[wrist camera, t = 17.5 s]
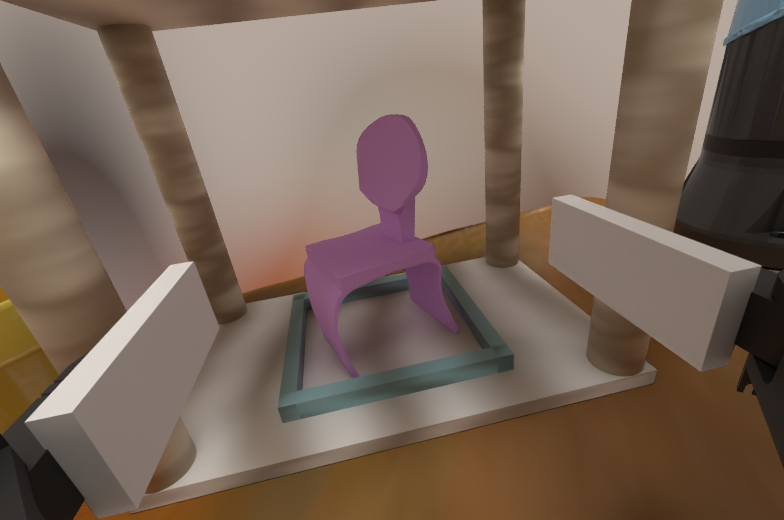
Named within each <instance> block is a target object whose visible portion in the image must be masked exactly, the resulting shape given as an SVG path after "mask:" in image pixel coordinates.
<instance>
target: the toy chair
mask: <svg viewBox="0 0 784 520" xmlns="http://www.w3.org/2000/svg"><path fill="white" fill-rule="evenodd" d="M357 164H358V175H359V188H360V190H361V192H362V193H363V194H364V195H365V196H366V197H367V198H368V199H369V200H370V201H371V202H372V203H373V204H375V205H376V206H378V209H379V212H380V219H381V223H380V224H377V225H373V226H370V227H368V228H365V229H362V230H360V231H357V232H355V233H351V234H348V235H345V236H342V237H337V238H333V239H328V240H324V241H320V242H317V243H314V244H311V245H307V246H305V247H306V251H307V255H308V258H307V260H306V262H305V266H304V275H305V281H306V286H307V291H308V295H309V299H310V302H311V306H312V309H313V312H314V314H315V317H316V320H317V322H318V324H319V326H320V329H321V331H322V333H323V335H324V336H325V338H326V339H327V341H328V342H329V344H330V345H331V347H332V348H333V350H334V351H335V352H336V354H337V355H338V357H339V358H340V360H341V361H342V363H343V364H344V365H345V367H346V368H347V370H348V371H349V373H350V374H351V375H352V377H353V378H357V377H360V376H359V375H358V373H357V371H356V370H355V368H354V367H353V365H352V363H351V361H350V360H349V358H348V356H347V354H346V352H345V350H344V348H343V346H342V343H341V341H340V338H339V334H338V324H337V322H338V315H339V311H340V307H341V303H342V301H343V299H344V298H345V297H346V296H347V295H348V294H349V293H350V292H351V291H353V290H355V289H357V288H359V287H361V286H363V285H365V284H368V283H370V282H372V281H374V280H376V279H378V278H380V277H382V276H385V275H387V274H390V273H392V272H395V271H398V270H402V269H404V270H405V273H406V276H407V280H408V285H409V292H410V299H411V300H412V301H413V302H414V303H416V304H417V305H418V306H420V307H421V308H422V309H424V310H425V311H426V312H428V313H429V314H430V315H432V316H433V317H434V318H436V319H437V320H438V321H440V322H441V323H442V324H443V325H445V326H446V327H447V328H449V329H450V330H451V331H453V332H454V333H456V334H457V333H459V332H460V330H459V328H458V326H457V324H456V323H455V321H454V319H453V317H452V315H451V313H450V311H449V309H448V306H447V304H446V302H445V299H444V296H443V292H442V286H441V273H442V267H441V263H440V261H439V260H438V259H437V258H435V245H433V244H431V243H429V242H427V241H425V240H423V239H420V238H417V237H414V227H415V224H414V223H415V196H416V195H417V194H418V193H419V192H420V191H421V190H422V188H423V186H424V184H425V182H426V178H427V172H428V162H427V155H426V150H425V147H424V144H423V140H422V138H421V136H420V133H419V131H418V129H417V128H416V126H415V124H414V123H413V121H412V120H411V119H410V118H409V117H407V116H404V115H397V114H396V115H386V116H383V117H381V118H379V119H377V120H376V121H374V122H373V123H372V124H371V125H369V126H368V127H367V128H366V129H365V130H364V132H363V133H362V134H361V136H360V138H359V140H358V144H357Z"/></svg>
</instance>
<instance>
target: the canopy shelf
mask: <svg viewBox="0 0 784 520" xmlns="http://www.w3.org/2000/svg"><path fill="white" fill-rule="evenodd" d="M2 1H5V2H8V3H11V4H14V5H17V6H20V7H24V8H27V9H30V10H33V11H36V12H40V13H43V14H46V15H49V16H52V17H55V18H58V19H62V20H65V21H68V22H71V23H74V24H77V25H80V26H84V27H87V28H90V29H93V30H96V31H97V32H98V35H99V37H100V40H101V42H102V45H103V47H104V50H105V52H106V55H107V57H108V60H109V62H110V65H111V67H112V70H113V72H114V75H115V77H116V80H117V83H118V85H119V87H120V90H121V93H122V95H123V97H124V100H125V103H126V105H127V108H128V110H129V113H130V115H131V118H132V120H133V123H134V125H135V128H136V130H137V132H138V135H139V138H140V140H141V143H142V145H143V148H144V150H145V153H146V155H147V158H148V160H149V163H150V166H151V168H152V171H153V173H154V176H155V178H156V180H157V183H158V186H159V188H160V190H161V193H162V196H163V198H164V201H165V203H166V206H167V208H168V211H169V213H170V216H171V218H172V221H173V223H174V226H175V228H176V231H177V233H178V236H179V238H180V241H181V244H182V246H183V248H184V251H185V253H186V256H187V259H188V261H189V262H192V261H194V263H195V266H196V268H197V271H198V274H199V276H200V279H201V281H202V284H203V286H204V289H205V291H206V294H207V297H208V299H209V302H210V304H211V307H212V309H213V312H214V315H215V317H216V320H217V322H218V325H219V327H220V328H219V330H218V333H217V335H216V337H215V339H214V342H213V344H212V346H211V348H210V350H209V353H208V355H207V357H206V359H205V361H204V364H203V366H202V368H201V370H200V372H199V375H198V377H197V379H196V381H195V383H194V386H193V388H192V390H191V392H190V394H189V397H188V399H187V401H186V403H185V406H184V408H183V410H182V412H181V414H180V417H179V419H178V421H177V423H176V425H175V428H174V430H173V432H172V434H171V436H170V439H169V441H168V443H167V445H166V447H165V450H164V452H163V454H162V456H161V459H160V461H159V463H158V465H157V467H156V470H155V472H154V474H153V476H152V478H151V481H150V483H149V485H148V487H147V489H146V492H145V494H144V496H143V498H142V500H141V503H140V505H139V507H138V509H137V510H133V511H129V513H130V514H132V513H136V512H140V511H144V510H148V509H152V508H156V507H160V506H164V505H168V504H172V503H176V502H180V501H184V500H188V499H192V498H196V497H200V496H204V495H208V494H212V493H216V492H220V491H224V490H228V489H232V488H236V487H240V486H244V485H248V484H252V483H256V482H260V481H264V480H268V479H272V478H276V477H280V476H284V475H288V474H292V473H296V472H300V471H304V470H308V469H312V468H316V467H320V466H324V465H328V464H332V463H336V462H340V461H344V460H348V459H352V458H356V457H360V456H364V455H368V454H372V453H376V452H380V451H384V450H388V449H392V448H396V447H400V446H404V445H408V444H412V443H416V442H420V441H424V440H428V439H432V438H436V437H440V436H444V435H448V434H452V433H456V432H460V431H464V430H468V429H472V428H476V427H480V426H484V425H488V424H492V423H496V422H500V421H504V420H508V419H512V418H516V417H520V416H524V415H528V414H532V413H536V412H540V411H544V410H548V409H552V408H556V407H560V406H564V405H568V404H572V403H576V402H580V401H584V400H588V399H592V398H596V397H600V396H604V395H608V394H612V393H616V392H620V391H624V390H628V389H632V388H636V387H640V386H644V385H648V384H652V383H654V381H655V377H656V373H657V369H655V368H654V367H653V366H652V365H650V364H649V363H648V362H647V361H645V360H646V355H647V351H648V346H649V342H650V337H651V336H650V335H648V334H647V333H645V332H644V331H643V330H641V329H640V328H638V327H637V326H636V325H634V324H633V323H631V322H630V321H629V320H627V319H626V318H624V317H623V316H622V315H620V314H619V313H617V312H616V311H615V310H613V309H612V308H610V307H609V306H608V305H606V304H605V303H603V302H602V301H601V300H599V299H598V298H596V297H595V296H594V298H593V306H592V314H591V317H590V316H589V315H588V314H586V313H585V312H584V311H583V310H581V309H580V308H579V307H578V306H576V305H575V304H574V303H572V302H571V301H570V300H569V299H567V298H566V297H565V296H564V295H562V294H561V293H560V292H559V291H557V290H556V289H555V288H554V287H552V286H551V285H550V284H549V283H547V282H546V281H545V280H544V279H542V278H541V277H540V276H539V275H537V274H536V273H535V272H534V271H532V270H531V269H530V268H529V267H527V266H526V265H525V264H524V263H522V262H521V261H520V260H519V222H520V182H521V145H522V144H521V143H522V106H523V68H524V67H523V66H524V30H525V0H483V63H484V121H485V122H484V130H485V192H486V193H485V197H486V257H483V258H478V259H472V260H467V261H462V262H457V263H452V264H447V265H442V266H441V267H442V273H441V286H442V292H443V296H444V299H445V302H446V304H447V306H448V309H449V311H450V313H451V315H452V317H453V319H454V321H455V323H456V324H457V326H458V328H459V330H460V332H459V333H457V334H456V333H454V332H453V331H451V330H450V329H449V328H447V327H446V326H445V325H443V324H442V323H441V322H440V321H438V320H437V319H436V318H434V317H433V316H432V315H430V314H429V313H428V312H426V311H425V310H424V309H422V308H421V307H420V306H418V305H417V304H416V303H414V302H413V301H412V300H411V299H410V292H409V285H408V280H407V276H406V273H400V274H395V275H390V276H385V277H380V278H378V279H376V280H374V281H372V282H370V283H368V284H365V285H363V286H361V287H359V288H357V289H355V290H353V291H351V292H350V293H349V294H348V295H347V296H346V297H345V298H344V299H343V301H342V303H341V307H340V311H339V315H338V322H337V324H338V334H339V338H340V341H341V343H342V346H343V348H344V350H345V352H346V354H347V356H348V358H349V360H350V361H351V363H352V365H353V367H354V368H355V370H356V371H357V373H358V375H359V376H360V377H357V378H353V377H352V375H351V374H350V373H349V371H348V370H347V368H346V367H345V365H344V364H343V363H342V361H341V360H340V358H339V357H338V355H337V354H336V352H335V351H334V350H333V348H332V347H331V345H330V344H329V342H328V341H327V339H326V338H325V336H324V335H323V333H322V331H321V329H320V326H319V324H318V322H317V320H316V317H315V314H314V312H313V309H312V306H311V302H310V299H309V295H308V292H303V293H298V294H292V295H287V296H282V297H277V298H272V299H267V300H262V301H256V302H251V303H246V304H245V301H244V298H243V295H242V292H241V290H240V287H239V284H238V281H237V278H236V275H235V272H234V269H233V266H232V263H231V260H230V257H229V255H228V252H227V249H226V246H225V243H224V240H223V237H222V234H221V231H220V228H219V225H218V223H217V220H216V217H215V214H214V211H213V208H212V205H211V202H210V199H209V196H208V193H207V190H206V188H205V185H204V182H203V179H202V176H201V173H200V170H199V167H198V164H197V161H196V158H195V156H194V153H193V150H192V147H191V144H190V141H189V138H188V135H187V132H186V129H185V126H184V123H183V121H182V118H181V115H180V112H179V109H178V106H177V103H176V100H175V97H174V94H173V91H172V89H171V86H170V83H169V80H168V77H167V74H166V71H165V69H164V65H163V62H162V59H161V56H160V54H159V51H158V48H157V45H156V42H155V39H154V36H153V34H152V31H158V30H167V29H175V28H186V27H195V26H203V25H213V24H223V23H231V22H241V21H250V20H259V19H269V18H277V17H286V16H296V15H305V14H314V13H324V12H333V11H342V10H351V9H361V8H370V7H379V6H389V5H398V4H407V3H416V2H425V1H435V0H2ZM722 5H723V0H632V3H631V11H630V18H629V26H628V34H627V41H626V49H625V57H624V65H623V73H622V81H621V88H620V96H619V104H618V111H617V119H616V127H615V136H614V143H613V151H612V158H611V166H610V174H609V182H608V189H607V197H606V205H605V207H606V208H608V209H611V210H614V211H617V212H619V213H622V214H625V215H627V216H630V217H633V218H635V219H638V220H641V221H643V222H646V223H649V224H651V225H654V226H657V227H659V228H662V229H665V230H667V231H670V232H673V231H674V226H675V222H676V217H677V212H678V208H679V203H680V199H681V194H682V189H683V185H684V180H685V175H686V171H687V166H688V161H689V156H690V152H691V148H692V143H693V139H694V134H695V129H696V125H697V120H698V115H699V111H700V106H701V101H702V97H703V92H704V88H705V83H706V79H707V74H708V69H709V64H710V60H711V55H712V51H713V46H714V42H715V37H716V32H717V28H718V23H719V18H720V14H721V9H722ZM0 286H1V287H2V289H3V290H4V292H5V293H6V295H7V296H8V298H9V300H10V301H11V303H12V304H13V306H14V307H15V309H16V310H17V312H18V313H19V315H20V316H21V318H22V319H23V321H24V322H25V324H26V325H27V327H28V328H29V330H30V331H31V333H32V334H33V336H34V337H35V339H36V340H37V342H38V343H39V345H40V346H41V348H42V350H43V351H44V353H45V354H46V356H47V357H48V359H49V360H50V362H51V363H52V365H53V366H54V368H55V369H56V371H57V372H58V374H59V375H60V374H61V373H62V372H63V371H64V370H65V369H66V368H67V367H68V366H69V365H70V364H72V363H73V362H75V361H76V360H77V359H79V358H80V357H82V356H83V355H84V354H86V353H87V352H89V351H91V350H92V349H93V348H94V347H95V346H96V345H97V344H98V342H99V341H100V340H101V339H102V338H103V337H104V336H105V335H106V334H107V333H108V332H109V331H110V330H111V328H112V327H113V326H114V325H115V324H116V323H117V322H118V321H119V320H120V319H121V318H122V317H123V316H124V314H125V313H126V312H127V311H126V309H125V307H124V305H123V303H122V301H121V299H120V297H119V295H118V293H117V291H116V290H115V288H114V286H113V284H112V282H111V280H110V278H109V276H108V274H107V272H106V270H105V268H104V266H103V264H102V262H101V260H100V258H99V256H98V254H97V252H96V250H95V248H94V247H93V245H92V242H91V240H90V239H89V237H88V235H87V233H86V231H85V229H84V227H83V225H82V223H81V221H80V219H79V217H78V215H77V213H76V211H75V209H74V207H73V205H72V203H71V201H70V200H69V197H68V195H67V193H66V191H65V189H64V187H63V186H62V184H61V182H60V180H59V178H58V176H57V174H56V172H55V170H54V168H53V166H52V164H51V162H50V160H49V158H48V156H47V154H46V152H45V150H44V148H43V146H42V144H41V142H40V140H39V139H38V136H37V135H36V133H35V131H34V129H33V127H32V125H31V123H30V121H29V119H28V117H27V115H26V113H25V111H24V109H23V107H22V105H21V103H20V101H19V99H18V97H17V95H16V93H15V91H14V89H13V88H12V86H11V84H10V82H9V80H8V78H7V76H6V74H5V72H4V70H3V68H2V66H1V64H0Z"/></svg>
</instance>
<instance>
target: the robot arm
mask: <svg viewBox="0 0 784 520" xmlns="http://www.w3.org/2000/svg"><path fill="white" fill-rule="evenodd" d="M725 45H727V46H726V50H725V55H724V59H723V63H722V67H721V71H720V76H719V80H718V84H717V88H716V92H715V96H714V101H713V105H712V109H711V113H710V117H709V122H708V125H707V130H706V135H705V139H704V143H703V148H702V152H701V155H700V157H699V159H698V161H697V162H696V164H695V166H694V167H693V169H692V170H691V172H690V173H689V175H688V177H687V178H686V180H685V181H684V185H683V189H682V194H681V199H680V203H679V208H678V212H677V217H676V222H675V226H674V231H673V232H670V231H667V230H665V229H662V228H659V227H657V226H654V225H651V224H649V223H646V222H643V221H641V220H638V219H635V218H633V217H630V216H627V215H625V214H622V213H619V212H617V211H614V210H611V209H608V208H606V207H603V206H600V205H598V204H595V203H592V202H590V201H587V200H584V199H582V198H579V197H576V196H574V195H566V196H561V197H555V198H553V199H552V214H551V229H550V245H549V260H548V263H549V264H550V265H552V266H553V267H554V268H556V269H557V270H559V271H560V272H561V273H563V274H564V275H566V276H567V277H568V278H570V279H571V280H573V281H574V282H575V283H577V284H578V285H580V286H581V287H582V288H584V289H585V290H587V291H588V292H589V293H591V294H592V295H594V296H595V297H596V298H598V299H599V300H601V301H602V302H603V303H605V304H606V305H608V306H609V307H610V308H612V309H613V310H615V311H616V312H617V313H619V314H620V315H622V316H623V317H624V318H626V319H627V320H629V321H630V322H631V323H633V324H634V325H636V326H637V327H638V328H640V329H641V330H643V331H644V332H645V333H647V334H648V335H650V336H651V337H652V338H654V339H655V340H657V341H658V342H659V343H661V344H662V345H664V346H665V347H666V348H668V349H669V350H671V351H672V352H674V353H675V354H676V355H678V356H679V357H681V358H682V359H683V360H685V361H686V362H688V363H689V364H690V365H692V366H693V367H695V368H696V369H697V370H699V371H700V372H702V371H706V370H710V369H714V368H718V367H722V366H727V365H728V363H729V361H730V358H731V355H732V352H733V349H734V346H735V344H736V345H738V346H739V347H741V348H743V349H744V350H746V351H748V352H749V355H748V357H747V360H746V363H745V366H744V368H743V371H742V374H741V376H740V379H739V382H738V385H737V391H739V392H743V391H744V389H745V386H747V385H749V384H752V385H753V388H754V389H753V391H752V395H756V396H757V398H758V401H759V404H760V406H761V409H762V412H763V414H764V417H765V420H766V422H767V425H768V428H769V430H770V433H771V436H772V438H773V441H774V444H775V446H776V449H777V452H778V454H779V457H780V459H781V462H782V465H783V467H784V0H738V2H737V6H736V9H735V12H734V16H733V20H732V23H731V26H730V30H729V33H728V37H726V38H725V40H724V43H723V46H725ZM762 266H763V267H771V268H780V269H783V270H781V271H780V272H778V274H777V273H774V272H772V271H769V270H767V269H764V268H761V267H762ZM219 328H220V327H219V325H218V322H217V320H216V317H215V315H214V312H213V309H212V307H211V304H210V302H209V299H208V297H207V294H206V291H205V289H204V286H203V284H202V281H201V279H200V276H199V274H198V271H197V268H196V266H195V263H194V261H192V262H186V263H181V264H175V265H170V266H169V267H168V268H167V269H166V270H165V272H163V274H162V275H161V276H160V277H159V278H158V279H157V280H156V281H155V282H154V283H153V284H152V285H151V287H150V288H149V289H148V290H147V291H146V292H145V293H144V294H143V295H142V296H141V297H140V298H139V299H138V301H137V302H136V303H135V304H134V305H133V306H132V307H131V308H130V309H129V310H128V311H127V312H126V313H125V314H124V316H123V317H122V318H121V319H120V320H119V321H118V322H117V323H116V324H115V325H114V326H113V327H112V328H111V330H110V331H109V332H108V333H107V334H106V335H105V336H104V337H103V338H102V339H101V340H100V341H99V342H98V344H97V345H96V346H95V347H94V348H93V349H92V350H91V351H89V352H87V353H86V354H84V355H83V356H82V357H80V358H79V359H77V360H76V361H75V362H73V363H72V364H70V365H69V366H68V367H67V368H66V369H65V370H64V371H63V372H62V373H61V374H60V375H59V376H58V377H57V378H56V379H55V380H54V384H50V385H49V387H48V388H47V389H46V390H45V391H44V392H43V393H42V394H41V397H39V398H37V399H36V400H35V401H34V402H33V403H32V404H31V405H30V406H29V407H28V408H27V409H26V410H25V412H24V413H23V414H22V415H21V416H20V417H19V418H18V419H17V420H16V421H15V422H14V423H13V424H12V425H11V426H10V427H9V428H8V429H7V430H6V431H5V432H4V433H3V434H2V435H1V434H0V520H73V518H74V517H75V515H76V513H77V512H78V510H79V508H80V507H81V505H82V503H83V502H84V501H85V503H86V504H87V505H88V507H89V508H90V509H91V511H92V512H93V513H94V515H95V516H96V517H97V518H98V519H100V518H104V517H108V516H112V515H116V514H120V513H124V512H129V511H133V510H137V509H138V507H139V505H140V503H141V500H142V498H143V496H144V494H145V492H146V489H147V487H148V485H149V483H150V481H151V478H152V476H153V474H154V472H155V470H156V467H157V465H158V463H159V461H160V459H161V456H162V454H163V452H164V450H165V447H166V445H167V443H168V441H169V439H170V436H171V434H172V432H173V430H174V428H175V425H176V423H177V421H178V419H179V417H180V414H181V412H182V410H183V408H184V406H185V403H186V401H187V399H188V397H189V394H190V392H191V390H192V388H193V386H194V383H195V381H196V379H197V377H198V375H199V372H200V370H201V368H202V366H203V364H204V361H205V359H206V357H207V355H208V353H209V350H210V348H211V346H212V344H213V342H214V339H215V337H216V335H217V333H218V330H219Z"/></svg>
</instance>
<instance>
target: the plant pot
mask: <svg viewBox="0 0 784 520" xmlns="http://www.w3.org/2000/svg"><path fill="white" fill-rule="evenodd" d="M58 376H59V374H58V372H57V371H56V369H55V368H54V366H53V365H52V363H51V362H50V360H49V359H48V357H47V356H46V354H45V353H44V351H43V350H42V348H41V346H40V345H39V343H38V342H37V340H36V339H35V337H34V336H33V334H32V333H31V331H30V330H29V328H28V327H27V325H26V324H25V322H24V321H23V319H22V318H21V316H20V315H19V313H18V312H17V310H16V309H15V307H14V306H13V304H12V303H11V301H10V300H9V298H8V296H7V295H6V293H5V292H4V290H3V289H2V287H1V286H0V434H1V435H2V434H3V433H4V432H5V431H6V430H7V429H8V428H9V427H10V426H11V425H12V424H13V423H14V422H15V421H16V420H17V419H18V418H19V417H20V416H21V415H22V414H23V413H24V412H25V410H26V409H27V408H28V407H29V406H30V405H31V404H32V403H33V402H34V401H35V400H36V399H37V398H39V397H41V394H42V393H43V392H44V391H45V390H46V389H47V388H48V387H49V385H50V384H54V380H55V379H56V378H57V377H58Z"/></svg>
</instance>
